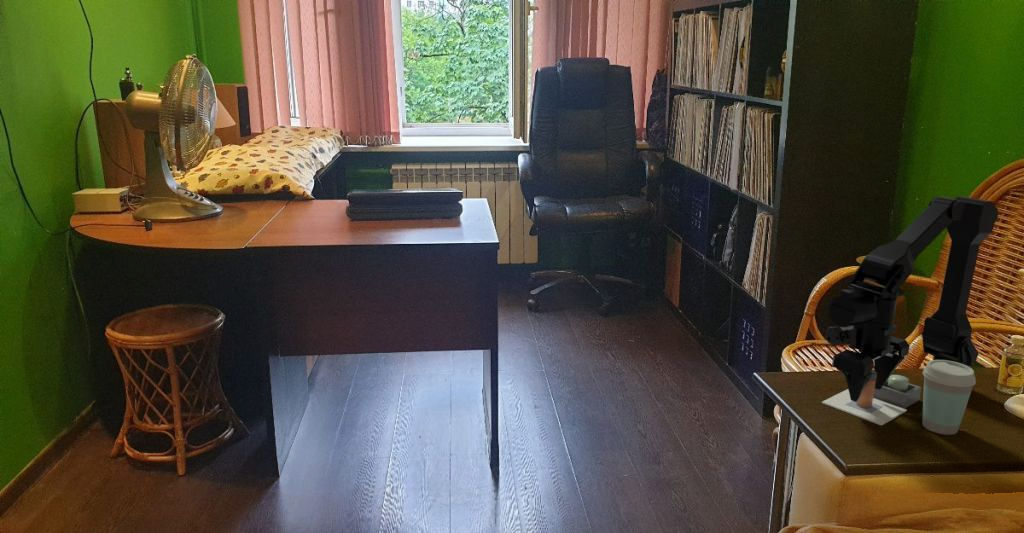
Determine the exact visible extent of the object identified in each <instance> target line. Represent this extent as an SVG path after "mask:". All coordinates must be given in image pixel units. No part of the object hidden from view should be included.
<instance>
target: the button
mask: <svg viewBox="0 0 1024 533" xmlns="http://www.w3.org/2000/svg"><path fill="white" fill-rule="evenodd" d="M909 383H910V379H909V378H908V377H906V376H904V375H900V374H891V376H890V377H889V381H888V388H891V389H894V390H897V391H900V392H903V393H905V392H907V391H908V385H909Z"/></svg>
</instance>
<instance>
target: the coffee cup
mask: <svg viewBox="0 0 1024 533" xmlns="http://www.w3.org/2000/svg"><path fill="white" fill-rule="evenodd" d="M922 375H923V376H924V377H923V380H924V384H923V398H922V420H921V421H922V426H923V427H924V429H926V430H928V431H931V432H932V433H936V434H940V435H945V436H946V435H947V436H948V435H949V436H950V435H955V434H957V433H958V432H959V429H960V425H961V423H962V420H963V417H964V414H965V411H966V408H967V405H968V402H969V400H970V396H971V393H972V390H973V387H974V386H975V385H976V383H977V382H976V380H977V378H976V375H975V370H974V369H973V368H972V367H971V366H966V365H964V364H961V363H958V362H953V361H947V360H933V359H932V360H930V361H928V362H927V364H926V366H925V367H924V368H923V370H922Z"/></svg>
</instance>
